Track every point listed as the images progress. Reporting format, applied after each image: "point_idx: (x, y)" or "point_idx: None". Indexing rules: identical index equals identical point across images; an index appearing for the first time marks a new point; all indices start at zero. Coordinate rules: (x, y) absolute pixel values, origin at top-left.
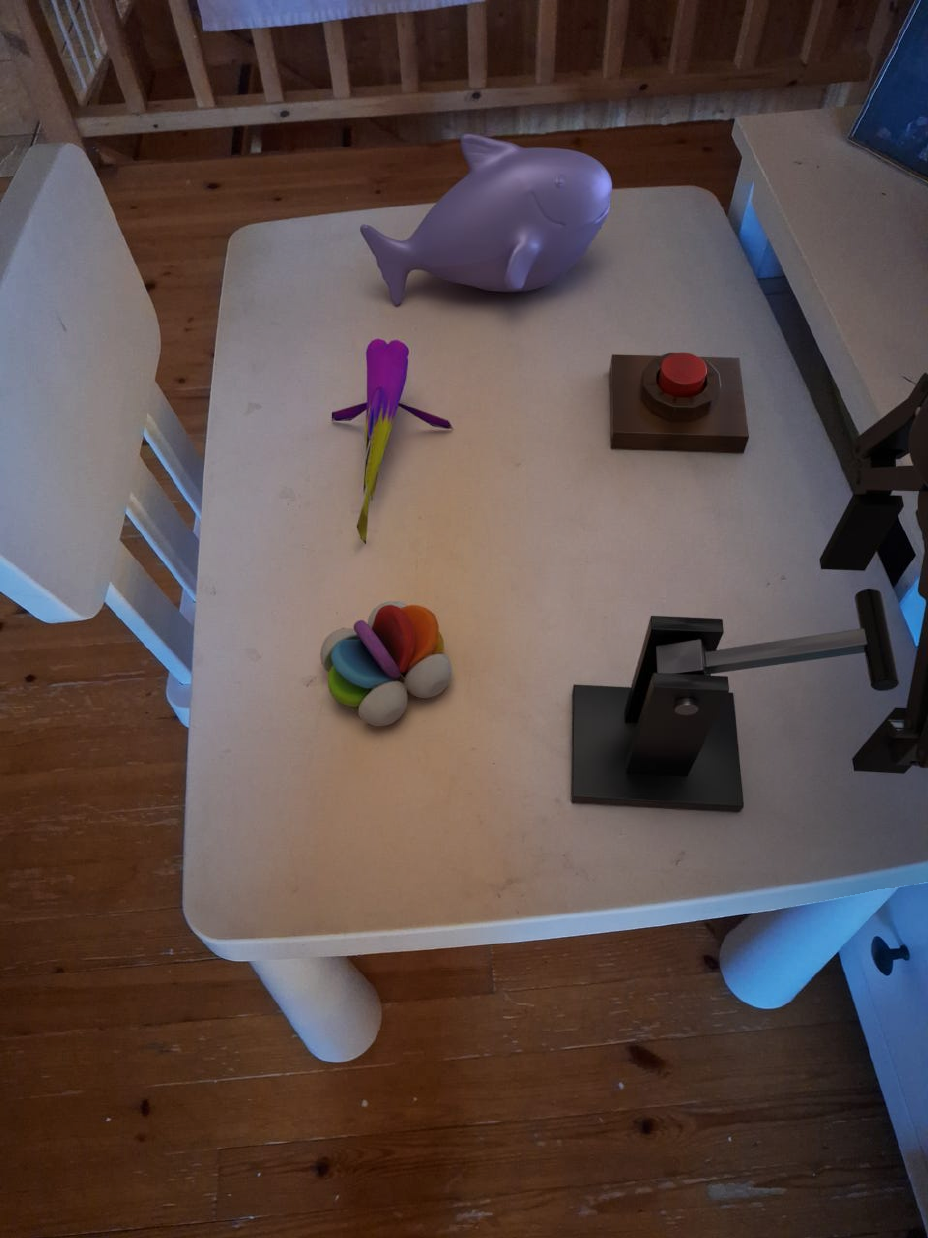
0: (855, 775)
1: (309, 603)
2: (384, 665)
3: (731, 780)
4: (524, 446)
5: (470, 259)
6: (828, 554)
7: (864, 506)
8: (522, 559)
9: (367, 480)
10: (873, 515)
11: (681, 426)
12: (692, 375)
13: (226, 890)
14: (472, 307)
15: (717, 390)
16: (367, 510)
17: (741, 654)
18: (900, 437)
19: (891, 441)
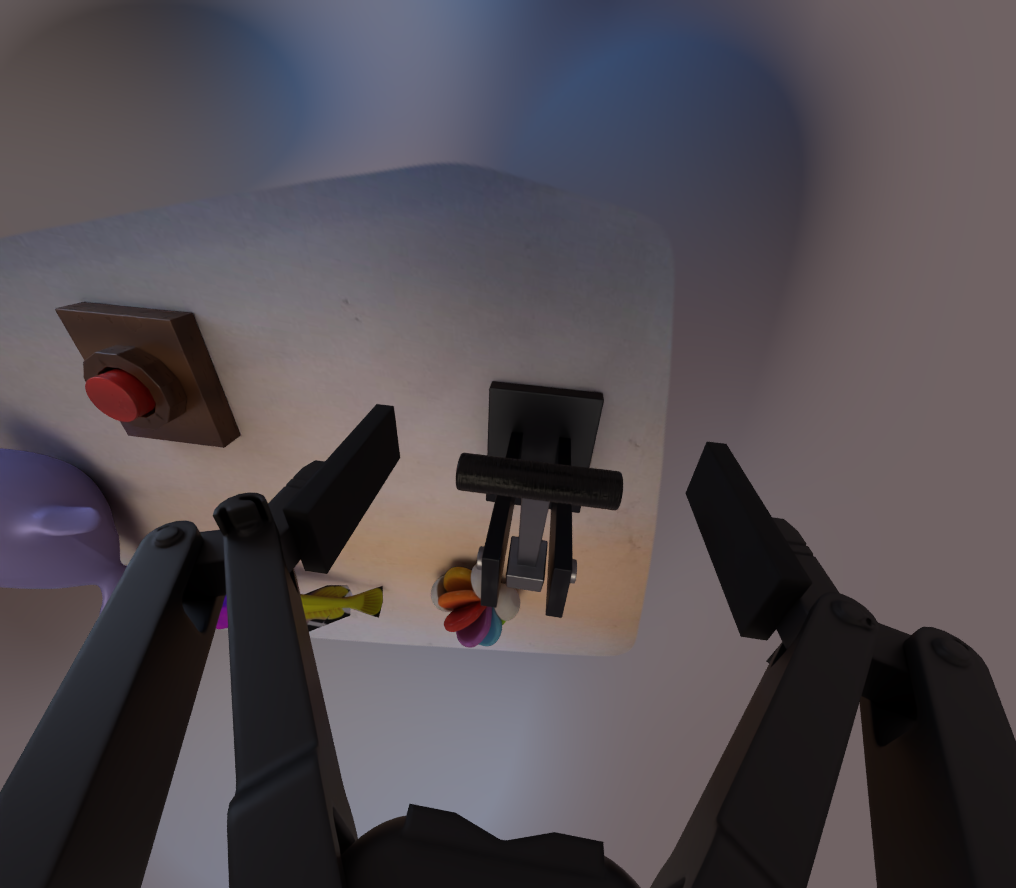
0: (577, 274)
1: (431, 610)
2: (489, 627)
3: (577, 405)
4: (264, 495)
5: (88, 551)
6: (386, 479)
7: (326, 559)
8: (374, 508)
9: (338, 610)
10: (333, 521)
11: (189, 388)
12: (117, 394)
13: (610, 647)
14: (135, 512)
15: (122, 359)
16: (359, 596)
17: (528, 554)
18: (167, 729)
19: (182, 693)
